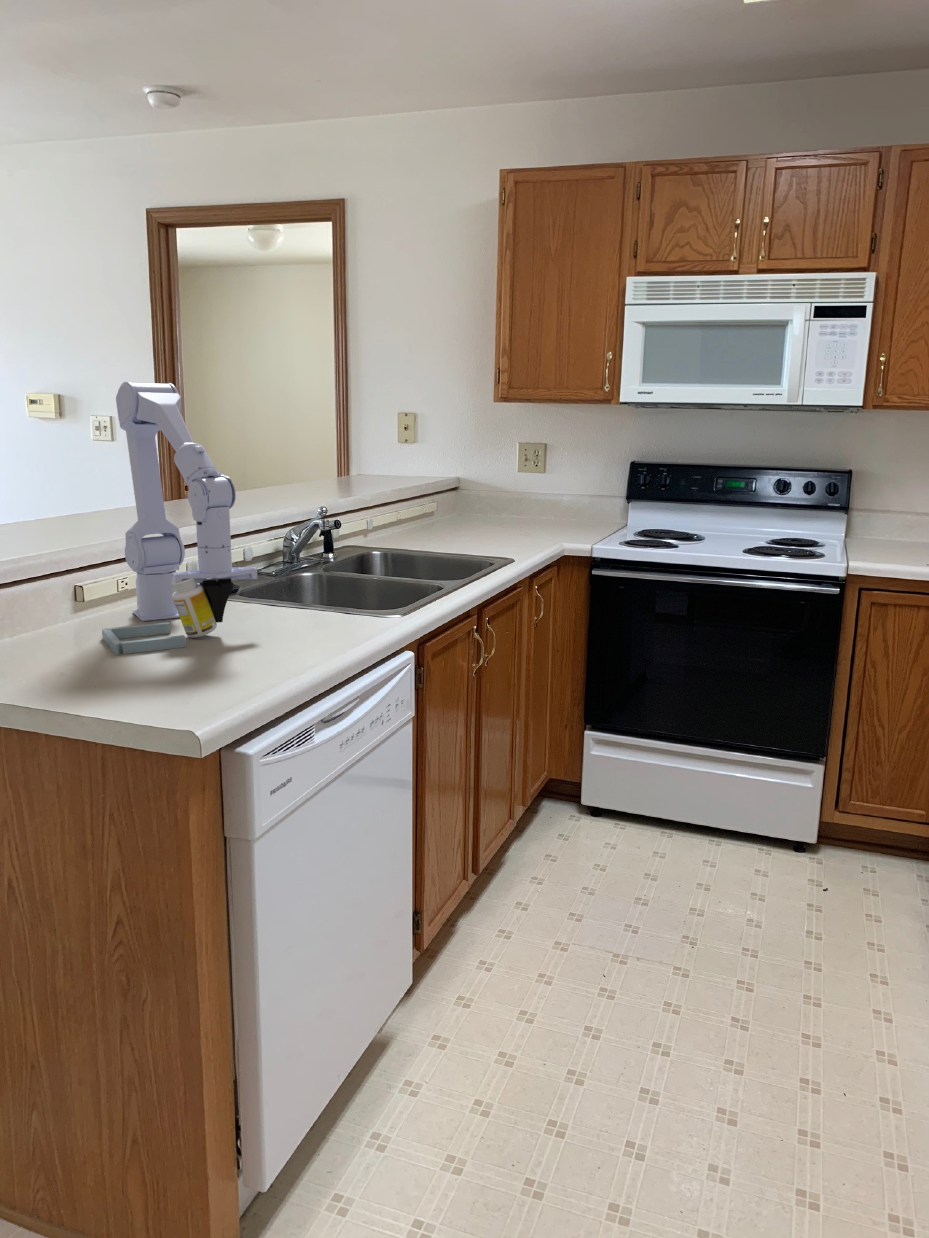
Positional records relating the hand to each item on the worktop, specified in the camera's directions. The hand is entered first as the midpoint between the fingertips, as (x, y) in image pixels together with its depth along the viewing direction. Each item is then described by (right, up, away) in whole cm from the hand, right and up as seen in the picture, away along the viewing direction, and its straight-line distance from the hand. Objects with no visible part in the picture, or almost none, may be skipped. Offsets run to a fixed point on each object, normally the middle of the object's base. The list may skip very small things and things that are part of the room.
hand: (218, 621), depth 164 cm
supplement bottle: (-2, -2, -1) cm, 3 cm away
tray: (-11, -4, -6) cm, 13 cm away
